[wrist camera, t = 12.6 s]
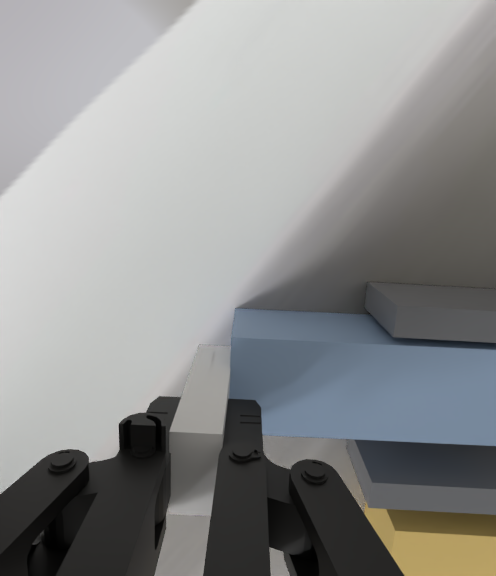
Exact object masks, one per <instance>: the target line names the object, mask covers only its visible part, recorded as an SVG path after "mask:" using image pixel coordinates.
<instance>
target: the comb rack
mask: <svg viewBox="0 0 496 576" xmlns="http://www.w3.org/2000/svg"><path fill="white" fill-rule="evenodd" d="M364 308H365V309H366V310H367V311H368V312H369V313H370V314H371V315H372V316H373V317H374V318H375V319H376V320H377V321H378V322H379V323H380V324H381V325H382V326H383V327H384V328H385V329H386V330H387V331H388V332H389V333H390V334H391V335H392V336H393V337H398V338H416V339H434V340H452V341H470V342H488V343H496V289H486V288H468V287H450V286H432V285H415V284H397V283H379V282H367V289H366V296H365V304H364ZM347 451H348V454H349V456H350V459H351V462H352V465H353V467H354V470H355V473H356V475H357V478H358V481H359V484H360V486H361V489H362V492H363V494H364V497H365V500H366V503H367V505H368V508H378V509H396V510H415V511H433V512H452V513H471V514H489V515H496V446H484V445H463V444H441V443H420V442H398V441H377V440H356V439H348V440H347Z"/></svg>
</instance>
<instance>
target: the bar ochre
mask: <svg viewBox="0 0 496 576" xmlns="http://www.w3.org/2000/svg"><path fill="white" fill-rule="evenodd" d="M364 514H365V516H366V517H367V519H368V520H369V522H370V523H371V525H372V527H373V528H374V530H375V531H376V533H377V534H378V536H379V537H380V539H381V540H382V542H383V543H384V545H385V546H386V548H387V550H388V551H389V553H390V554H391V556H392V557H393V559H394V560H395V562H396V563H397V565H398V566H399V568H400V569H401V571H402V573H403V574H404V576H496V515H489V514H471V513H452V512H433V511H415V510H396V509H378V508H368V505H367V503H366V505H365V511H364Z"/></svg>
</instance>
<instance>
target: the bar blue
mask: <svg viewBox="0 0 496 576" xmlns="http://www.w3.org/2000/svg"><path fill="white" fill-rule="evenodd" d="M229 399H246V400H256V402H257V403H258V404H259V405H260V407H261V418H262V435H270V436H292V437H313V438H334V439H356V440H377V441H398V442H420V443H441V444H463V445H484V446H496V343H488V342H470V341H452V340H434V339H416V338H398V337H393V336H392V335H391V334H390V333H389V332H388V331H387V330H386V329H385V328H384V327H383V326H382V325H381V324H380V323H379V322H378V321H377V320H376V319H375V318H374V317H373V316H372V315H367V314H346V313H325V312H304V311H283V310H262V309H241V308H235V314H234V321H233V328H232V335H231V356H230V393H229Z"/></svg>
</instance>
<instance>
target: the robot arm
mask: <svg viewBox="0 0 496 576" xmlns="http://www.w3.org/2000/svg"><path fill="white" fill-rule="evenodd" d="M230 356H231V346H215V345H199V347H198V350H197V352H196V355H195V358H194V361H193V364H192V367H191V370H190V373H189V376H188V379H187V382H186V384H185V387H184V390H183V393H182V396H181V397H162V396H159V397H158V398H157V399H156V400H154V401H153V402H152V403H150V406H149V408H148V410H147V413H138V414H134V415H130V416H128V417H127V418H125V419H123V420H122V421H121V422H120V423H119V445H120V450H119V452H118V454H117V456H116V457H114V458H111V459H107V460H103V461H97V462H91V463H89V457H88V456H87V455H86V453H84V452H82V451H80V450H72V449H68V450H61V451H58V452H55V453H52V454H50V455H48V456H46V457H45V458H43V459H42V460H41V461H39V462H38V463H37V464H36V465H35V466H33V467H32V468H31V469H30V470H29V471H28V472H26V473H25V474H24V475H23V476H22V477H20V478H19V479H18V480H17V481H16V482H15V483H13V484H12V485H11V486H10V487H9V488H7V489H6V490H5V491H4V492H3V493H2V494H0V576H154V574H155V570H156V566H157V562H158V558H159V554H160V550H161V546H162V542H163V538H164V534H165V530H166V511H167V508H168V504H169V514H171V515H192V516H211V520H210V527H209V535H208V543H207V551H206V558H205V566H204V574H203V576H271V575H270V553H269V547H271V548H274V549H277V550H280V551H283V553H284V560H285V562H286V565H287V568H288V571H289V573H290V576H404V574H403V573H402V571H401V569H400V568H399V566H398V565H397V563H396V562H395V560H394V559H393V557H392V556H391V554H390V553H389V551H388V550H387V548H386V546H385V545H384V543H383V542H382V540H381V539H380V537H379V536H378V534H377V533H376V531H375V530H374V528H373V527H372V525H371V523H370V522H369V520H368V519H367V517H366V516H365V514H364V513H363V511H362V510H361V508H360V507H359V505H358V504H357V502H356V500H355V499H354V497H353V496H352V494H351V493H350V491H349V490H348V488H347V487H346V485H345V484H344V482H343V480H342V479H341V477H340V476H339V474H338V473H337V472H336V471H335V470H334V468H333V467H332V466H330V465H328V464H326V463H324V462H322V461H318V460H307V459H306V460H302V461H298V462H297V463H295V464H294V465H293V466H292V468H291V470H290V469H286V468H283V467H280V466H277V465H275V464H274V463H272V462H270V461H269V460H268V459H267V458H266V456H265V455H264V452H263V439H262V418H261V407H260V405H259V404H258V403H257V402H256V400H246V399H229V393H230Z"/></svg>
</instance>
